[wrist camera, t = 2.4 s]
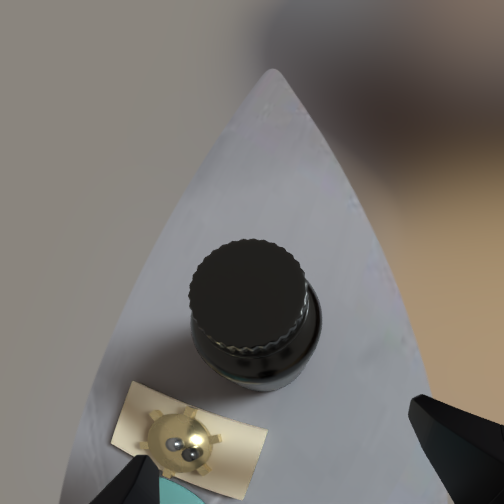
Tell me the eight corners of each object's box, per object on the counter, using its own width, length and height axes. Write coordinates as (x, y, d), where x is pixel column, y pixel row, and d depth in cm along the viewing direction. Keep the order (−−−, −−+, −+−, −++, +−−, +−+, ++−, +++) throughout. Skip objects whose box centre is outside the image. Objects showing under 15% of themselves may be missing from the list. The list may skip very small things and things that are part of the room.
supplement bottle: (213, 320, 23) (159, 236, 13) (294, 300, 23) (303, 201, 13) (230, 402, 19) (175, 390, 9) (319, 379, 19) (361, 343, 9)
